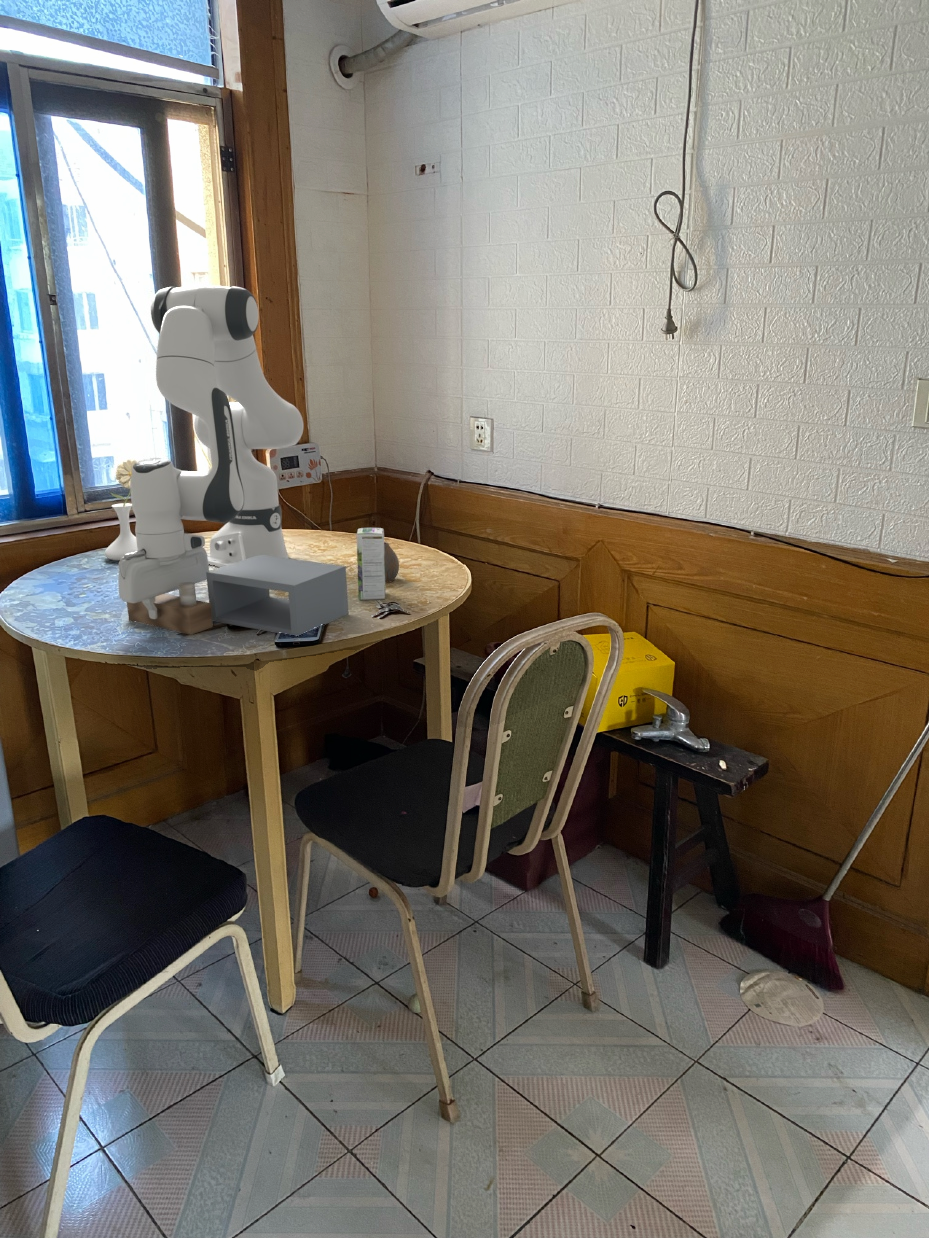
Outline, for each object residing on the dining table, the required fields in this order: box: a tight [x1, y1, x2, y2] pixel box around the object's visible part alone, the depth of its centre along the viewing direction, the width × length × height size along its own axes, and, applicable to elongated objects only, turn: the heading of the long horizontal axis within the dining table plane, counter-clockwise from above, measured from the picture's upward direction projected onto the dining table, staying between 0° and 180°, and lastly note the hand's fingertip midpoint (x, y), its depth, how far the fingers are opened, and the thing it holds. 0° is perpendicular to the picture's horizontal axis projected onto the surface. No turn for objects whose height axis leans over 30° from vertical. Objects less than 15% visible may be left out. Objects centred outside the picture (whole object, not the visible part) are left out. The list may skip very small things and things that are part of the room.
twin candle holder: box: [126, 582, 214, 636], centre depth 180 cm, size 18×6×9 cm, turn 58°
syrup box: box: [356, 527, 386, 601], centre depth 195 cm, size 6×6×14 cm
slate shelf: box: [206, 555, 349, 637], centre depth 182 cm, size 22×16×10 cm
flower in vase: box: [103, 459, 138, 561], centre depth 230 cm, size 13×11×25 cm
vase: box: [384, 541, 400, 583], centre depth 208 cm, size 7×7×9 cm
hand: (169, 613), depth 180 cm, fingers closed on twin candle holder, 6 cm apart
